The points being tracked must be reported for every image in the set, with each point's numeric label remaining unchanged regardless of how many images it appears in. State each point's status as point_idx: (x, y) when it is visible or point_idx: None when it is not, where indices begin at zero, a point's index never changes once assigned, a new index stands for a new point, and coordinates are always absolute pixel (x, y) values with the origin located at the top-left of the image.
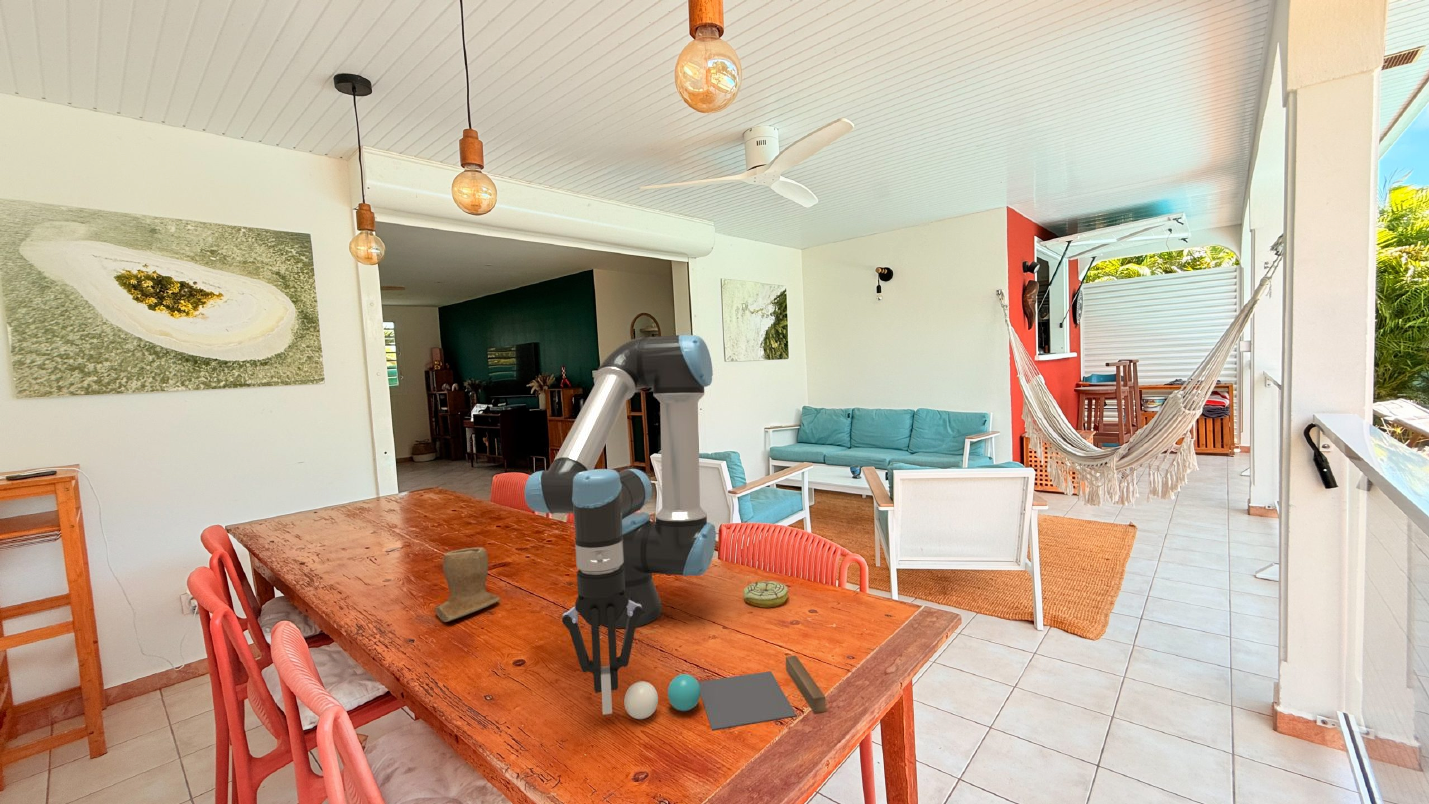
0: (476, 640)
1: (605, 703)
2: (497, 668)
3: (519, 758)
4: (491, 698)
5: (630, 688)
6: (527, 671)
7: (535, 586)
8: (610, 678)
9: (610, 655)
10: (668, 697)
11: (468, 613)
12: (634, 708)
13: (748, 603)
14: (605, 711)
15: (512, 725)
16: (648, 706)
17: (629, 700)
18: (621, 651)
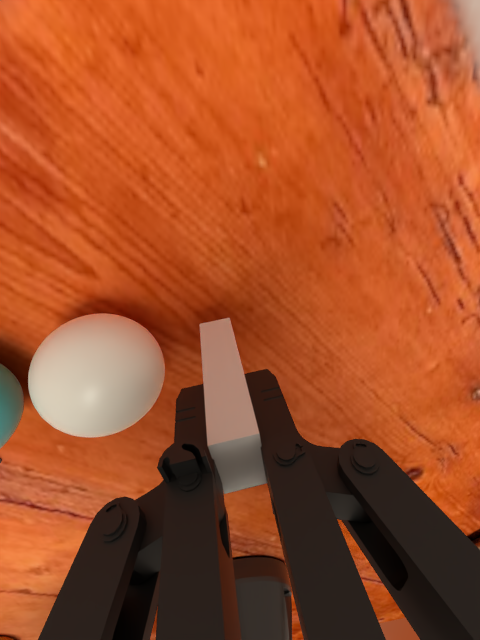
0: (467, 505)
1: (223, 340)
2: (449, 459)
3: (458, 164)
4: (474, 390)
5: (129, 400)
6: (401, 458)
7: (375, 590)
8: (206, 423)
9: (209, 592)
10: (6, 390)
11: (477, 546)
12: (107, 325)
13: (3, 637)
14: (221, 324)
15: (451, 309)
16: (51, 336)
17: (128, 352)
18: (152, 604)
